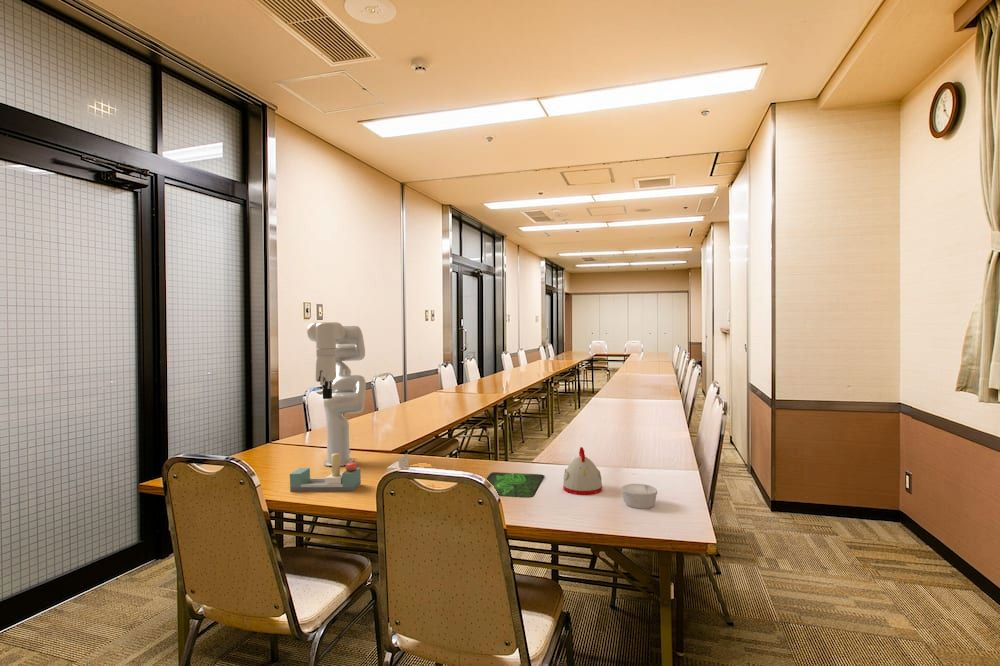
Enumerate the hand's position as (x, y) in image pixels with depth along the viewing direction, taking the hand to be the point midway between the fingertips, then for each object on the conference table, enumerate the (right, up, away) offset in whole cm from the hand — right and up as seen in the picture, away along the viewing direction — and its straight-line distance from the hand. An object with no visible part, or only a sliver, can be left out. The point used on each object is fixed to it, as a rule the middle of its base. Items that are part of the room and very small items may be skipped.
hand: (327, 398), depth 205 cm
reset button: (+14, -25, -14) cm, 32 cm away
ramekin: (+115, -30, -39) cm, 125 cm away
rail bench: (+4, -32, -13) cm, 35 cm away
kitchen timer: (+99, -30, -22) cm, 106 cm away
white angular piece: (+34, -32, -26) cm, 53 cm away
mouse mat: (+74, -31, -15) cm, 81 cm away
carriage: (+8, -30, -13) cm, 34 cm away
